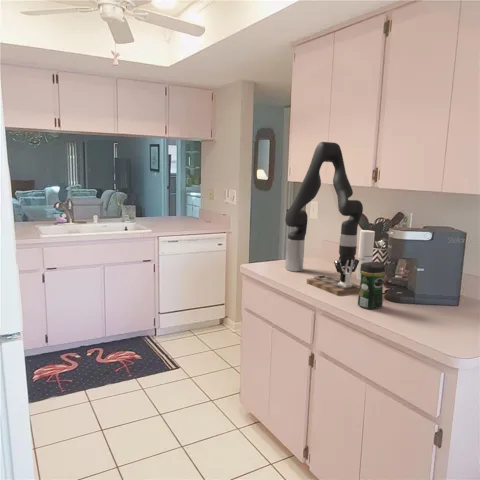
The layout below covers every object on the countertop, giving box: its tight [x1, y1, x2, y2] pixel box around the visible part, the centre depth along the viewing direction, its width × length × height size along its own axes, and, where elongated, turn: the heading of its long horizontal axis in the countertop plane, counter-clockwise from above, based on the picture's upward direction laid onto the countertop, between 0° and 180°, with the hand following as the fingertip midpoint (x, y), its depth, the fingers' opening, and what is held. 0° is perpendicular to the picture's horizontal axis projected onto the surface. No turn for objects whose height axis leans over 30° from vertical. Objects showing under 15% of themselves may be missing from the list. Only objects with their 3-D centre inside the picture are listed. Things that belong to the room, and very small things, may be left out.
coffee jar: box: [357, 260, 386, 310], centre depth 165 cm, size 10×8×19 cm
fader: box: [338, 272, 352, 288], centre depth 187 cm, size 5×4×6 cm
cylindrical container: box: [355, 229, 376, 281], centre depth 209 cm, size 7×7×25 cm
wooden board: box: [306, 274, 360, 296], centre depth 193 cm, size 22×16×3 cm
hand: (345, 281), depth 187 cm, fingers closed on fader, 2 cm apart
